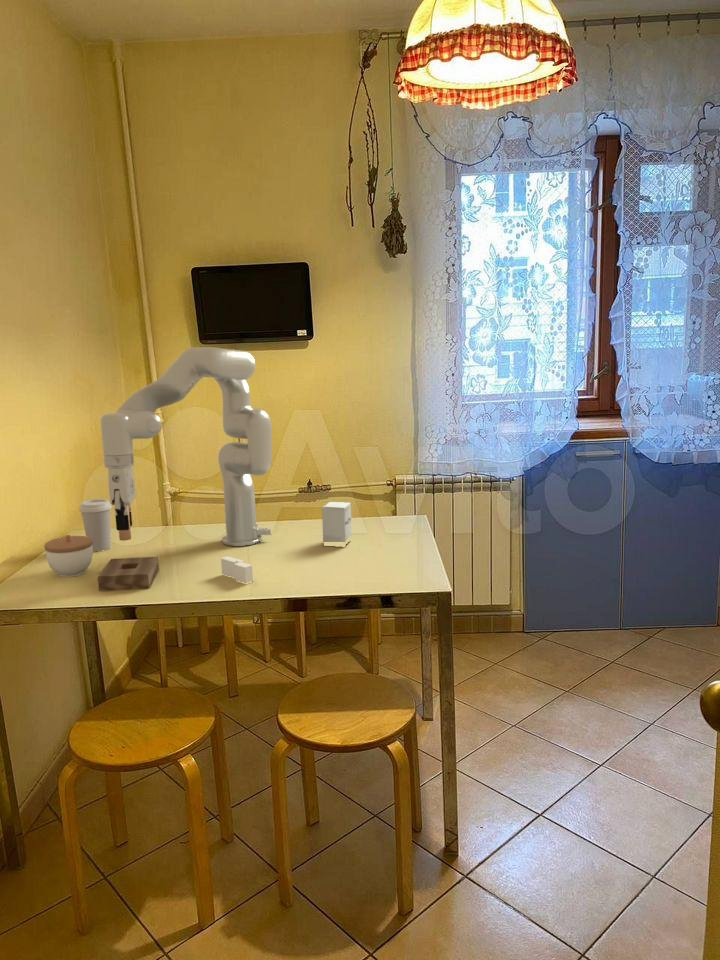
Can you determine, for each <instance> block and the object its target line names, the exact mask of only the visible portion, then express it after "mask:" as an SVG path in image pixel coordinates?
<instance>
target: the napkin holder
mask: <svg viewBox="0 0 720 960" xmlns="http://www.w3.org/2000/svg"><path fill="white" fill-rule="evenodd" d="M220 559H221V560H220V563H221V575H222V574H224V575H227V576H231V577H234V578H235V579H234V581H235V580H237V581H240V582H244V583H247V582H250V581H253V582H254V577H253V575H254V572H253V565H252V564H249V563H245V561H244V559H243V560H242V559H239V558H235V557H231V556H228V555H227V556H224V557H221V558H220Z"/></svg>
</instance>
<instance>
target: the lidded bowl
mask: <svg viewBox="0 0 720 960" xmlns="http://www.w3.org/2000/svg"><path fill="white" fill-rule="evenodd" d="M92 544H93V540H92V538H90V537H86V535H70V534H65V536H63V537H57V538H52V539H51V540H49V541H46V542H45V544H44V550H45V555H46V560H47V564H48V566H49V567H50V569H51V570H52V571H53V572H54V573H56V574H58V576H59V577H61V578H70V576H73V577H77V575H78V576H80V575H79V574H81V575H83V574H85V573H86V570H87V569H88V568H89V567H90V566H91V563H92V561H93V557H94V554H93V553H94V552H93V545H92ZM84 572H85V573H84ZM82 573H83V574H82Z"/></svg>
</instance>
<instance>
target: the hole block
mask: <svg viewBox="0 0 720 960" xmlns="http://www.w3.org/2000/svg"><path fill="white" fill-rule="evenodd" d="M159 560H160V559H159V556H147V557H146V556H144V557H127V558H126V557H123V558H119V557H118V558H110V560H108V562H107V564H106V565H105V566H104V567H103V568H102V570H101V571H100V572H99V574H98V575H97V585H98V588H97V589H98V592H106V591H107V592H108V591H124V590H125V591H127V590H129V591H130V590H145V589H147V590H148V589H150V588H151V586H152V584H153V582H154V581H155V579H156V577H157V575H158V574H159V572H160V565H159V563H160V562H159Z"/></svg>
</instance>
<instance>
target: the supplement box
mask: <svg viewBox="0 0 720 960" xmlns="http://www.w3.org/2000/svg"><path fill="white" fill-rule="evenodd" d="M321 511H322V512H321V513H322V515H321V516H322V519H321V520H322V522H321V523H322V543H323V542H346V540H347V539H348V538H349V537H350V536H351V535H352V502H343V501H342V502H341V501H328V502H327V503H326V504H325V505H324V506H322V508H321ZM352 536H353V535H352Z"/></svg>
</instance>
